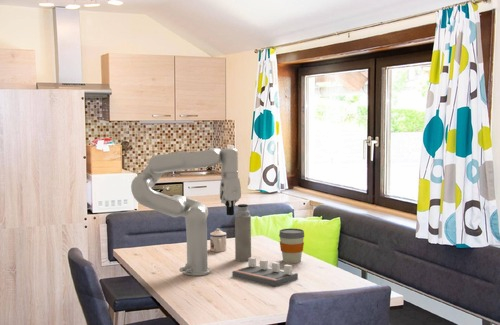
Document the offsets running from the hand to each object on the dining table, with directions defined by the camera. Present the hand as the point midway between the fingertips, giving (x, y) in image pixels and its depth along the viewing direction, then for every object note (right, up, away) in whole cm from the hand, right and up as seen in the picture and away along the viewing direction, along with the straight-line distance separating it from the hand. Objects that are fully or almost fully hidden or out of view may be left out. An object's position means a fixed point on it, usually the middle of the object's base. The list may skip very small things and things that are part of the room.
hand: (230, 214), depth 292 cm
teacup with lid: (-8, -23, +46) cm, 52 cm away
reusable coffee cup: (+30, -25, +24) cm, 46 cm away
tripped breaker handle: (+21, -25, -7) cm, 33 cm away
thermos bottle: (+6, -25, +27) cm, 37 cm away
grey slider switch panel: (+16, -28, -7) cm, 33 cm away
